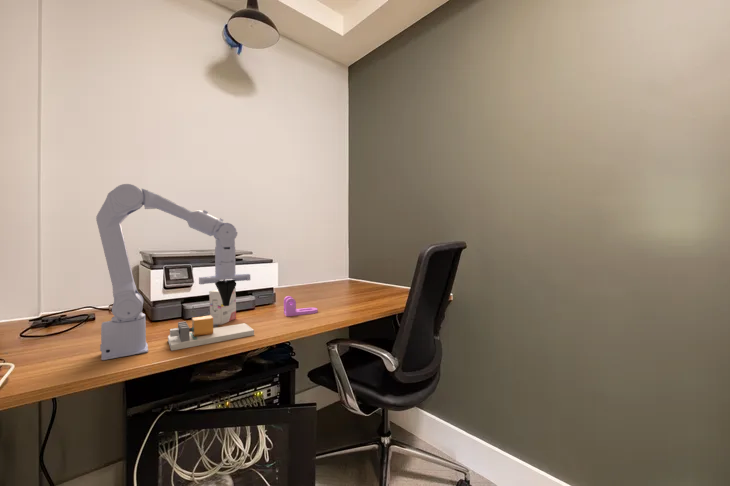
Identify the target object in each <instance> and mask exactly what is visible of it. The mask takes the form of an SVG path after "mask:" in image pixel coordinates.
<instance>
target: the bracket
mask: <svg viewBox="0 0 730 486" xmlns="http://www.w3.org/2000/svg"><path fill="white" fill-rule="evenodd" d="M318 311H319V310H318V308H317V307H304V308H303V307H302V308H297V302H296V299H295V298H293V296H290V295H287V296H285V297H284V298H283V314H284V315H285V316H286V317H292V316H295V317H296V316H302V315H313V314H317V313H318Z"/></svg>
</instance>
